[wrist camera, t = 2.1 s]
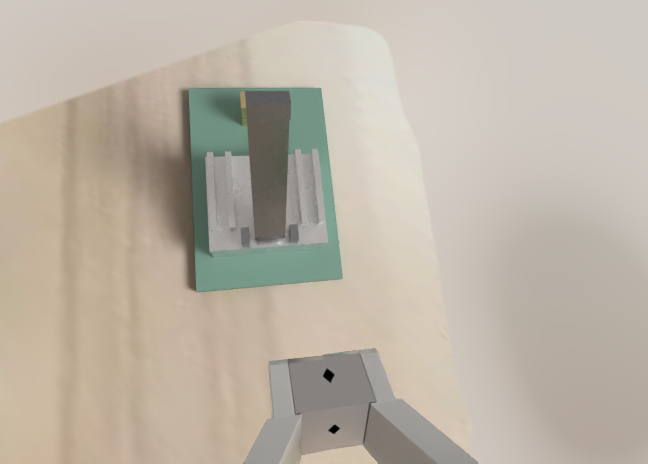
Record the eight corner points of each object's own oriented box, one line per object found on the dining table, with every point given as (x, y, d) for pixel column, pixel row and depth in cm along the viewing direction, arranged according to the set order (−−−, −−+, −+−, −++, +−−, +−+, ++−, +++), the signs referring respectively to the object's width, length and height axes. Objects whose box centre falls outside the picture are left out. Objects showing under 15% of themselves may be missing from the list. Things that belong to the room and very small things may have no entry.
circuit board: (340, 279, 45) (342, 278, 44) (198, 292, 42) (196, 291, 41) (319, 93, 50) (321, 88, 49) (190, 94, 47) (188, 88, 46)
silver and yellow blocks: (322, 249, 44) (331, 239, 39) (214, 257, 42) (207, 248, 37) (307, 109, 48) (313, 82, 43) (207, 111, 46) (199, 82, 40)
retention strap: (284, 233, 40) (285, 245, 39) (254, 235, 39) (255, 247, 39) (288, 89, 27) (291, 102, 26) (244, 90, 26) (245, 103, 26)
